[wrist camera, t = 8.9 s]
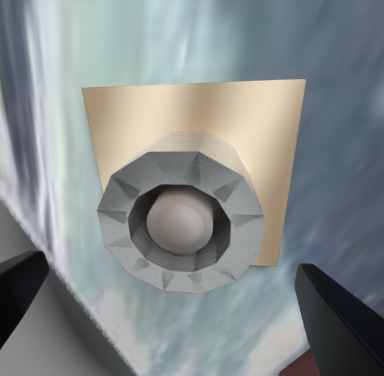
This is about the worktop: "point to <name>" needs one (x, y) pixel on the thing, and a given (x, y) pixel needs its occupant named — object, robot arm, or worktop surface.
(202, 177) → the steel ring
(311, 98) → the worktop surface
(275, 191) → the post board
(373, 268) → the worktop surface
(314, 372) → the bucket
